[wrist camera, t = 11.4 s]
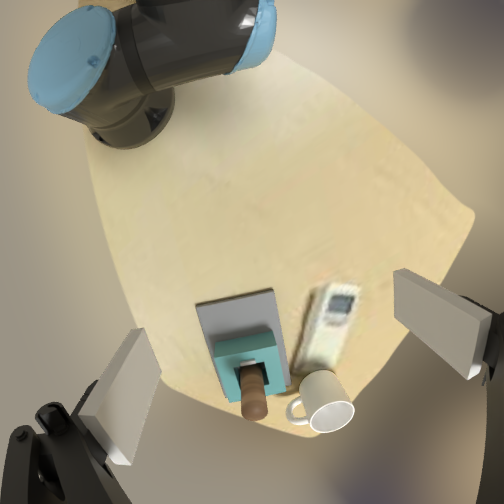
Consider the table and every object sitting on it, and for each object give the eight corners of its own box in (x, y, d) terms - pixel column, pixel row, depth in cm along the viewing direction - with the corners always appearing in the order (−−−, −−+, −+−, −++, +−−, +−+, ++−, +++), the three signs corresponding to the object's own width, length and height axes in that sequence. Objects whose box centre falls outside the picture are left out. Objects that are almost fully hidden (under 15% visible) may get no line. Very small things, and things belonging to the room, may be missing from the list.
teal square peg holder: (215, 342, 47) (213, 359, 42) (272, 330, 47) (277, 346, 42) (229, 385, 49) (229, 404, 44) (281, 375, 49) (286, 393, 44)
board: (196, 305, 46) (195, 307, 45) (273, 289, 47) (274, 291, 46) (225, 394, 51) (225, 398, 50) (290, 381, 51) (291, 384, 50)
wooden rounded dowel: (237, 354, 48) (238, 405, 34) (257, 350, 48) (265, 400, 34) (242, 369, 48) (244, 422, 35) (261, 366, 48) (269, 418, 35)
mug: (287, 410, 53) (296, 445, 43) (274, 385, 51) (283, 420, 41) (340, 389, 53) (357, 420, 43) (332, 362, 51) (350, 393, 41)
